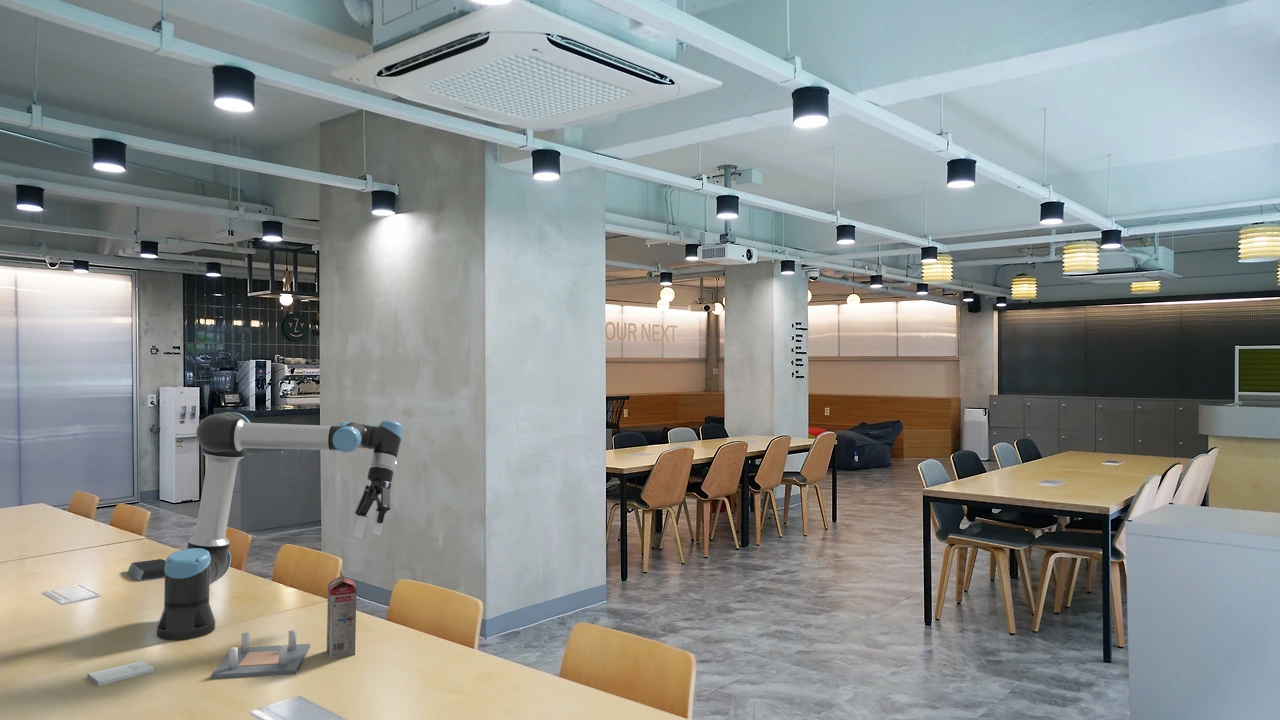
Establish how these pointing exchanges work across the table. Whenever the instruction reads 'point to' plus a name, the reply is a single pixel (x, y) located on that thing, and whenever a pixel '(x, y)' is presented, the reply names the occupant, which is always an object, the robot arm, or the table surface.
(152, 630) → the table surface
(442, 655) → the table surface
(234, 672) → the peg stand
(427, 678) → the table surface
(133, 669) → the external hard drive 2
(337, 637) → the juice carton
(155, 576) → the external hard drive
